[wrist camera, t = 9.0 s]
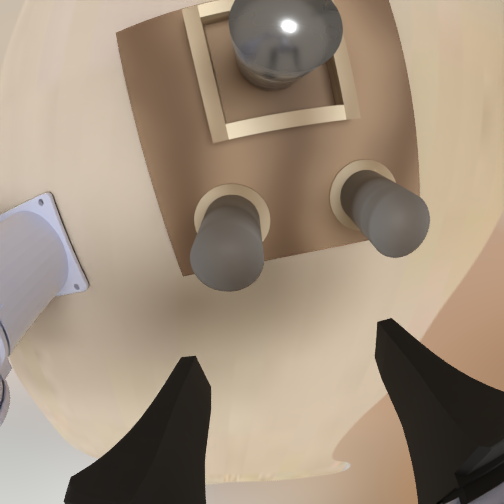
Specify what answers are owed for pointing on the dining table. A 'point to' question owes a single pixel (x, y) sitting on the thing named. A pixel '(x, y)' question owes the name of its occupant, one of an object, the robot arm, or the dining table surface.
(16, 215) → the robot arm
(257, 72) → the metal pin
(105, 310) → the dining table surface
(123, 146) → the dining table surface
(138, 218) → the dining table surface
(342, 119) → the pin board
